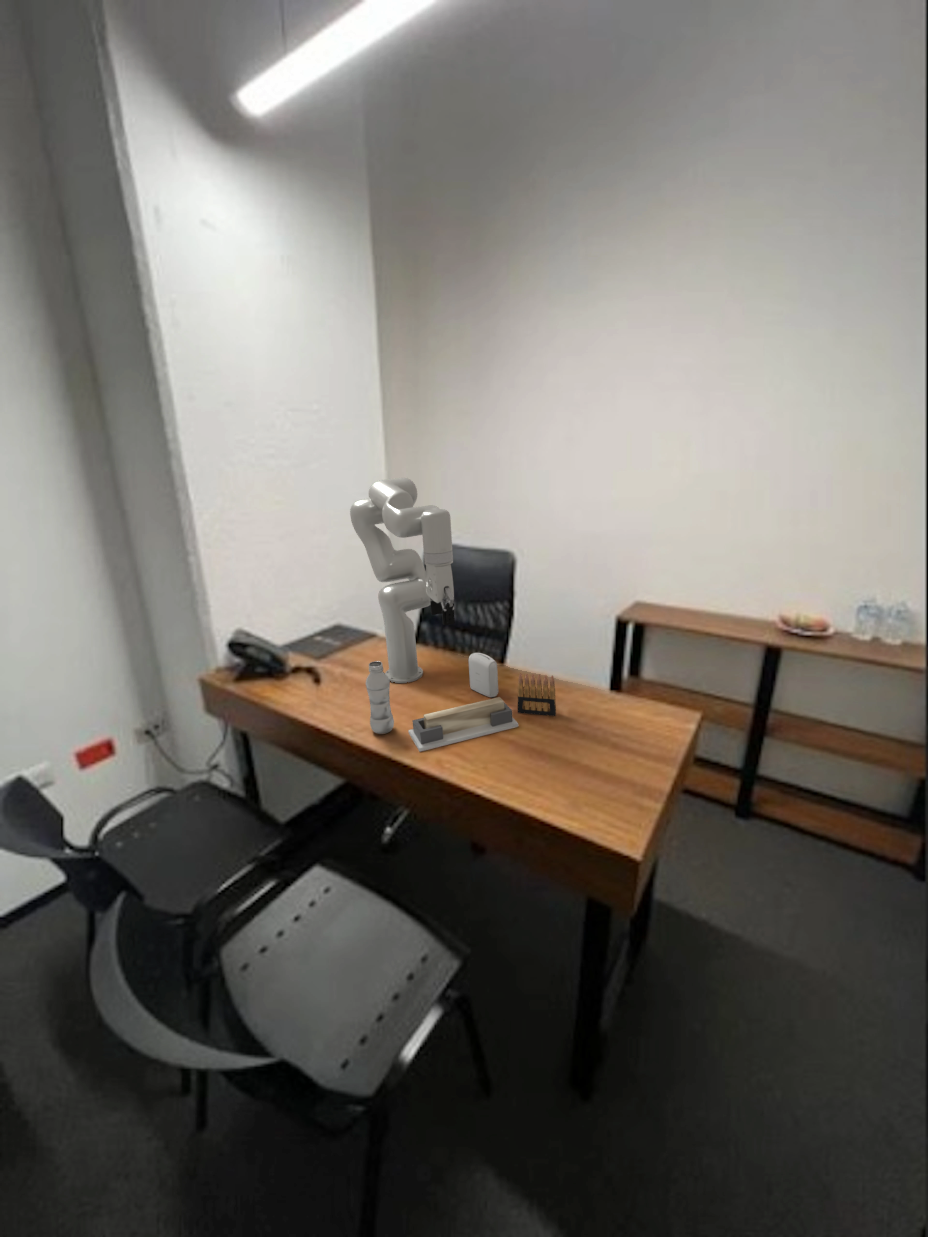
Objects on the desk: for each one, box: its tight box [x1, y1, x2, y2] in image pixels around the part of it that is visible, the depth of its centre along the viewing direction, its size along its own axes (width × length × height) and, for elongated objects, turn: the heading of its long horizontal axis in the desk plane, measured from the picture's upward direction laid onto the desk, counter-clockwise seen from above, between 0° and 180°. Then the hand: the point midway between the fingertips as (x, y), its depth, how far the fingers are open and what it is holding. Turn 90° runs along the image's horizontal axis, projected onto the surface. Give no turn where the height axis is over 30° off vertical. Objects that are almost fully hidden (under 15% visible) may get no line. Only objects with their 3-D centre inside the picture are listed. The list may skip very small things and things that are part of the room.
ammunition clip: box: [517, 672, 557, 717], centre depth 158 cm, size 11×2×12 cm, turn 74°
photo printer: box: [467, 652, 499, 698], centre depth 172 cm, size 10×4×12 cm, turn 39°
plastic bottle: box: [365, 660, 395, 735], centre depth 152 cm, size 6×7×20 cm
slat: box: [423, 696, 505, 735], centre depth 152 cm, size 3×22×6 cm, turn 111°
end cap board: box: [408, 702, 519, 752], centre depth 152 cm, size 10×28×4 cm, turn 111°
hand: (442, 619), depth 154 cm, fingers open, 9 cm apart
